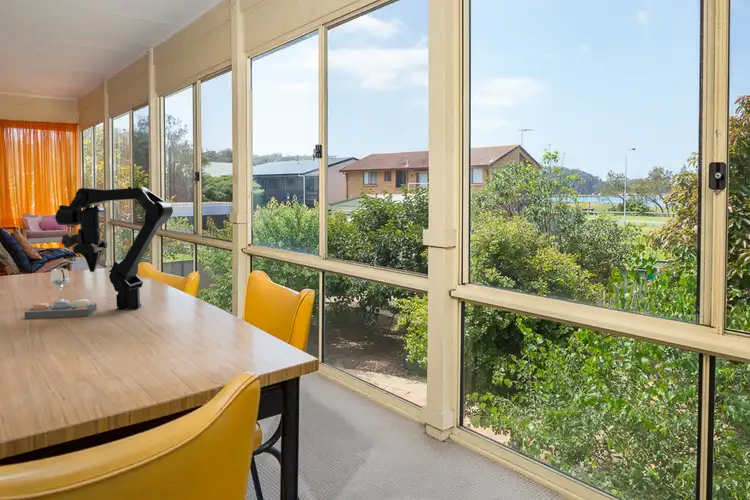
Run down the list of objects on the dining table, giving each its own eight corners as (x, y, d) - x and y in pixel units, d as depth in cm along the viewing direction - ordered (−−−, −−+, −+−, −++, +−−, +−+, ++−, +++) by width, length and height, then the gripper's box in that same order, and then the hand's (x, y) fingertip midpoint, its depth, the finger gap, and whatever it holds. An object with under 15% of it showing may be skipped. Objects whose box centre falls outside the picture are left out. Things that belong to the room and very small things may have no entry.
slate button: (71, 307, 184) (71, 299, 183) (67, 310, 179) (66, 302, 179) (56, 308, 183) (56, 300, 183) (51, 311, 179) (51, 303, 178)
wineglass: (56, 305, 195) (54, 270, 193) (49, 303, 198) (47, 269, 197) (73, 302, 199) (72, 268, 198) (66, 300, 203) (64, 267, 201)
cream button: (91, 307, 185) (91, 299, 185) (87, 309, 181) (87, 301, 180) (76, 307, 184) (76, 299, 184) (72, 310, 180) (72, 302, 180)
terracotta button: (51, 310, 183) (50, 302, 182) (46, 313, 178) (46, 305, 178) (36, 311, 182) (35, 303, 181) (31, 314, 177) (30, 306, 177)
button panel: (96, 309, 188) (96, 302, 188) (87, 316, 178) (87, 308, 178) (37, 311, 184) (36, 304, 184) (24, 318, 175) (24, 311, 174)
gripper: (72, 224, 197) (74, 268, 198) (54, 227, 179) (56, 276, 180) (106, 223, 199) (108, 267, 201) (92, 227, 181) (94, 275, 183)
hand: (92, 271), depth 191 cm, fingers closed
